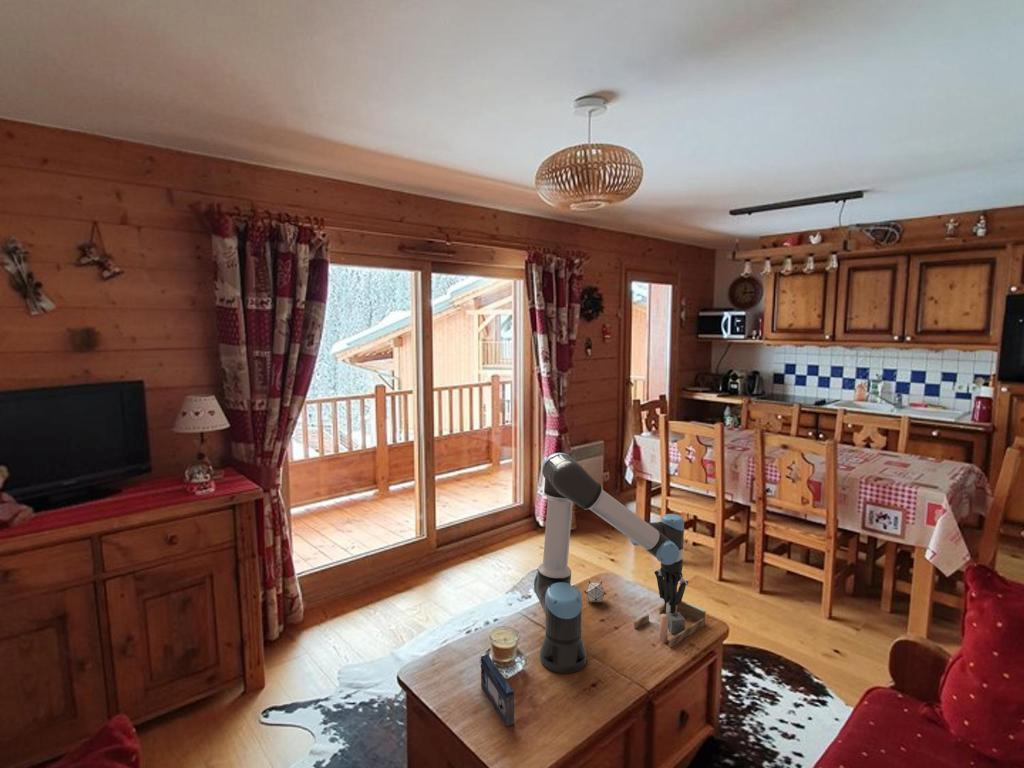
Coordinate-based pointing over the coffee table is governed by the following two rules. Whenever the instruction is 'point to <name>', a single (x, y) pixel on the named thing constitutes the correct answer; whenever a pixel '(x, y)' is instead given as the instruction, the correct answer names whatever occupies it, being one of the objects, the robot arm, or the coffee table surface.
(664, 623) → the pin near
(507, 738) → the coffee table surface
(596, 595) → the game die
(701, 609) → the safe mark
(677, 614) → the dice cube
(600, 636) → the coffee table surface
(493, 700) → the vhs cassette tape
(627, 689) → the coffee table surface
